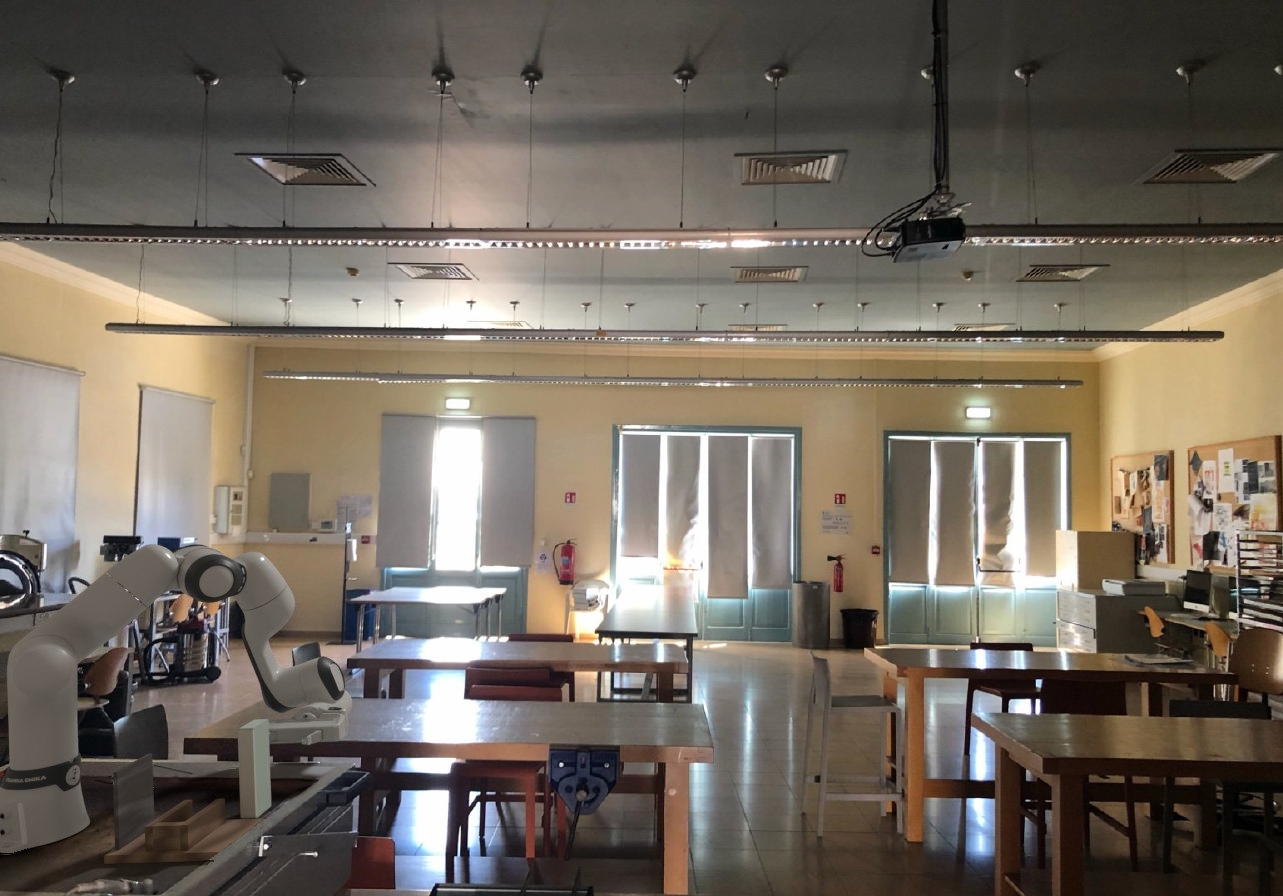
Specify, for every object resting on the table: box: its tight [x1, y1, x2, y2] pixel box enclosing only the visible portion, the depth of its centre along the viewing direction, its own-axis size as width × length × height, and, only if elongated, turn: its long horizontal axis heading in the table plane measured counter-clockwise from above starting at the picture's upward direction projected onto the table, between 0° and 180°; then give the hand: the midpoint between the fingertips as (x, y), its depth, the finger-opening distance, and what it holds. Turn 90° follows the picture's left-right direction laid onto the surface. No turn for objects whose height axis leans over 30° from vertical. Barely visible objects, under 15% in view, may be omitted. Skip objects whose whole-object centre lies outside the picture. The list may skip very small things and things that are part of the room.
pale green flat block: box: [237, 718, 272, 819], centre depth 167 cm, size 3×6×18 cm, turn 177°
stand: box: [103, 753, 264, 865], centre depth 154 cm, size 22×14×16 cm, turn 87°
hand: (283, 742), depth 179 cm, fingers open, 8 cm apart
